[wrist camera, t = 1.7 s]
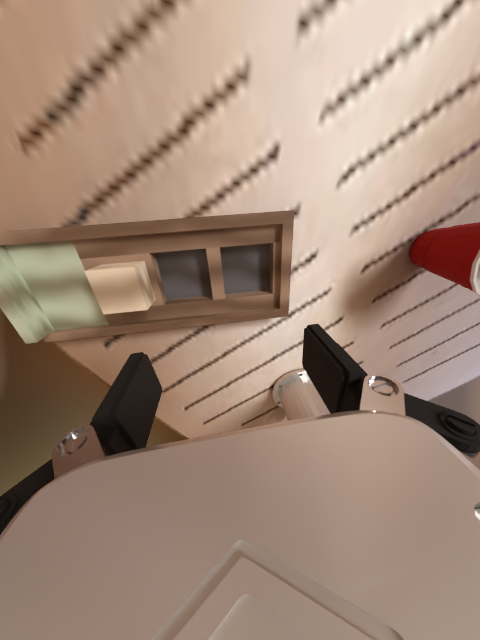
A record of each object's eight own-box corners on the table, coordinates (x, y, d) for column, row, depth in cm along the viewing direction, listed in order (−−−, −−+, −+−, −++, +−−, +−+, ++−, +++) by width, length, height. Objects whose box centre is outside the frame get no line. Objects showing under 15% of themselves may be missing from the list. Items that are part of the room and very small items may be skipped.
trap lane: (282, 308, 36) (293, 323, 31) (60, 331, 34) (31, 351, 29) (286, 211, 29) (301, 209, 24) (2, 232, 26) (-51, 235, 21)
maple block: (155, 299, 31) (147, 309, 27) (116, 303, 30) (103, 314, 27) (144, 261, 28) (133, 266, 24) (101, 264, 27) (84, 271, 24)
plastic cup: (471, 222, 33) (593, 222, 22) (428, 282, 37) (512, 307, 27) (422, 202, 30) (532, 191, 20) (383, 269, 35) (455, 290, 24)
